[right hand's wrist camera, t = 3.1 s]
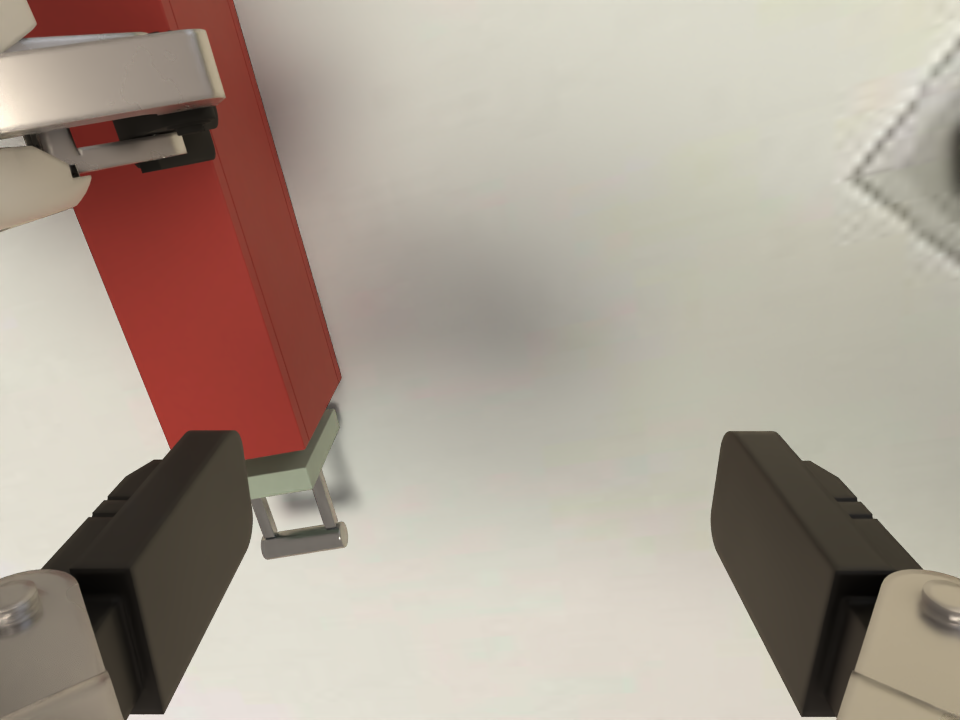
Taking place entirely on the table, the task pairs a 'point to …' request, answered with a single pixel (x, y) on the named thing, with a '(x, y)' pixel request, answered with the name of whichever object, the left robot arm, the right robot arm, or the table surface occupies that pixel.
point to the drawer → (296, 476)
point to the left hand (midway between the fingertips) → (40, 138)
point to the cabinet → (206, 252)
